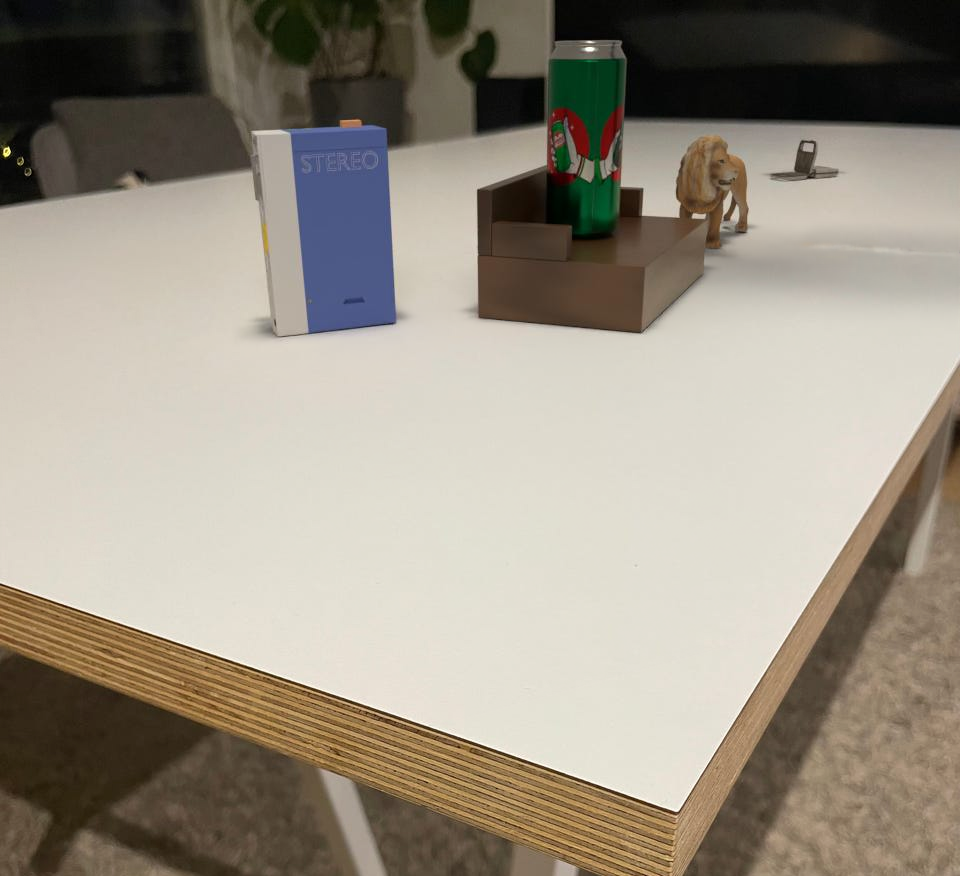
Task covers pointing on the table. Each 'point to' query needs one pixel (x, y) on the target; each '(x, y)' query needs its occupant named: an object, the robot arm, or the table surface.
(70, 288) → the table surface
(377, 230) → the walkman
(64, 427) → the table surface
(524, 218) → the brown toy sofa
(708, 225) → the lion figurine
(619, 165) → the soda can
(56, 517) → the table surface
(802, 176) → the strap clip
